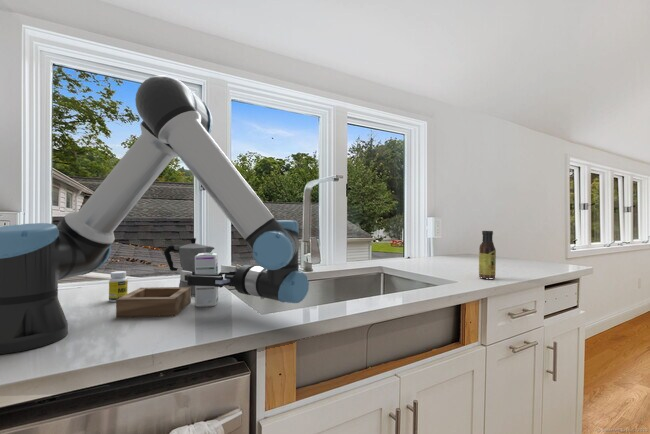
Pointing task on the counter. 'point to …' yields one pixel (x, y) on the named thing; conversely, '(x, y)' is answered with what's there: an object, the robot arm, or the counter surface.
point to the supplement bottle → (117, 285)
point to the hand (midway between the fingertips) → (202, 272)
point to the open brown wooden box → (153, 302)
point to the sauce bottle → (487, 256)
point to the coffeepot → (186, 258)
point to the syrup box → (206, 265)
